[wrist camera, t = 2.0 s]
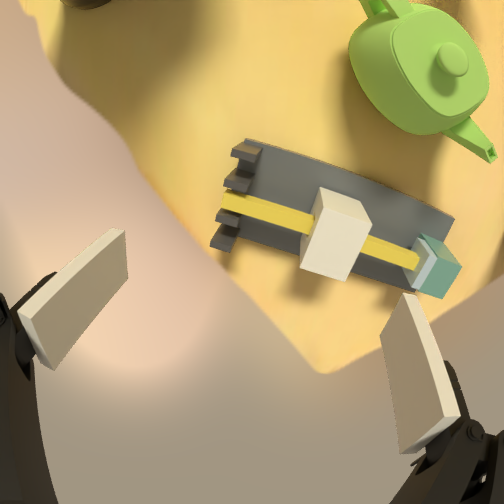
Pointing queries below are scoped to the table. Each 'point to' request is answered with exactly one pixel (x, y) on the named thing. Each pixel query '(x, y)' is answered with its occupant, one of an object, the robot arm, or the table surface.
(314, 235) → the sleeve
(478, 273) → the table surface
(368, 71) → the teapot
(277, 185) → the cable comb board
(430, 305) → the table surface
